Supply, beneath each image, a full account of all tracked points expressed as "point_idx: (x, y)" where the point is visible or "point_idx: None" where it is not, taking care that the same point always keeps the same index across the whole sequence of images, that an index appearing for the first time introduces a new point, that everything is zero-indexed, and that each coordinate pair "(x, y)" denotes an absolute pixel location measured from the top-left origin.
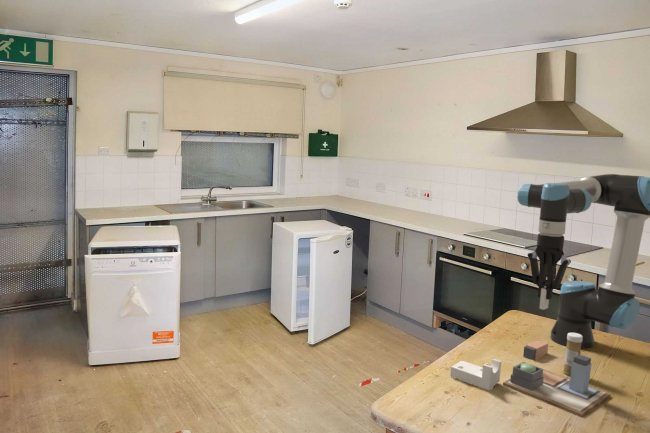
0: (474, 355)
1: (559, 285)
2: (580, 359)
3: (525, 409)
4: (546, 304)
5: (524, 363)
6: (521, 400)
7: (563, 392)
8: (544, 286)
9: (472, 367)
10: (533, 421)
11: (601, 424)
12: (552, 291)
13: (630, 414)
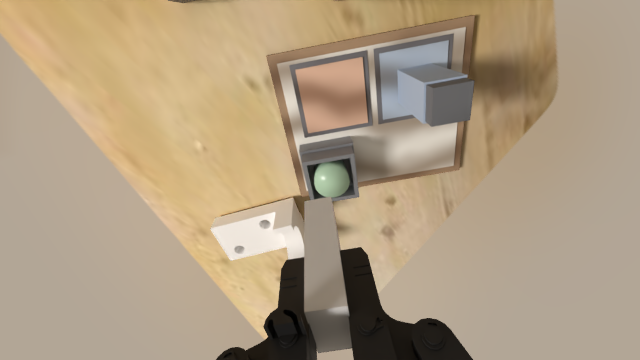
0: (147, 137)
1: (461, 352)
2: (452, 122)
3: (382, 224)
4: (337, 233)
5: (316, 178)
6: (359, 208)
7: (397, 128)
8: (310, 333)
9: (247, 232)
10: (409, 239)
11: (490, 159)
12: (377, 293)
13: (528, 67)
